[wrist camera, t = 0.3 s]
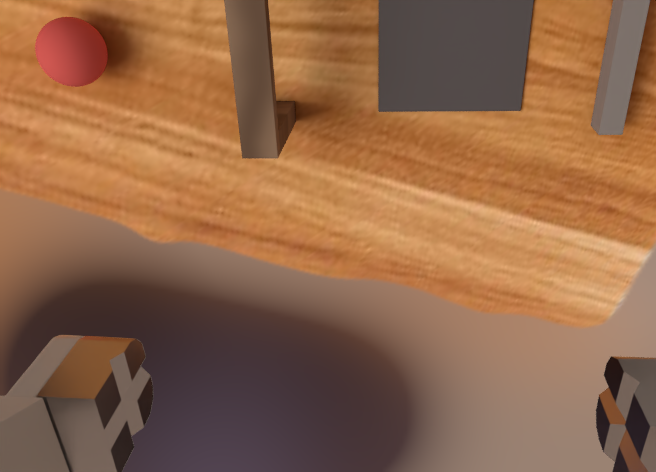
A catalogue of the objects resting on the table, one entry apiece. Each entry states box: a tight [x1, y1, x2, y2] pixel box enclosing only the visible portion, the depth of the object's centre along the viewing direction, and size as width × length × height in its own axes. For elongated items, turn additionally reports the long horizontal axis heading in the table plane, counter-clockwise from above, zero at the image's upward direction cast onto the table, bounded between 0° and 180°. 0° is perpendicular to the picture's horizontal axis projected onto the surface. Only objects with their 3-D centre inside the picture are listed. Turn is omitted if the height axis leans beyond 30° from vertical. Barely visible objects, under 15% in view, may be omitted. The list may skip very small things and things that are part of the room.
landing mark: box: [379, 0, 534, 112], centre depth 52 cm, size 13×13×1 cm
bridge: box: [224, 0, 296, 158], centre depth 50 cm, size 3×15×10 cm, turn 2°
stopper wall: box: [591, 0, 650, 135], centre depth 50 cm, size 16×2×2 cm, turn 2°
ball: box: [35, 17, 108, 87], centre depth 54 cm, size 6×6×6 cm
